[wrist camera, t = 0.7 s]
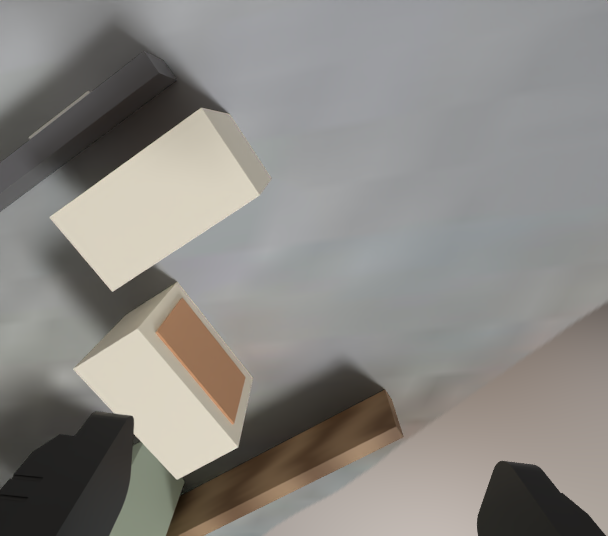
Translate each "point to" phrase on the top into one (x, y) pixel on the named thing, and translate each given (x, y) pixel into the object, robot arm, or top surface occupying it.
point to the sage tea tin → (148, 497)
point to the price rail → (82, 124)
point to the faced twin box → (163, 197)
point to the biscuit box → (172, 381)
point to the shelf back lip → (288, 467)
